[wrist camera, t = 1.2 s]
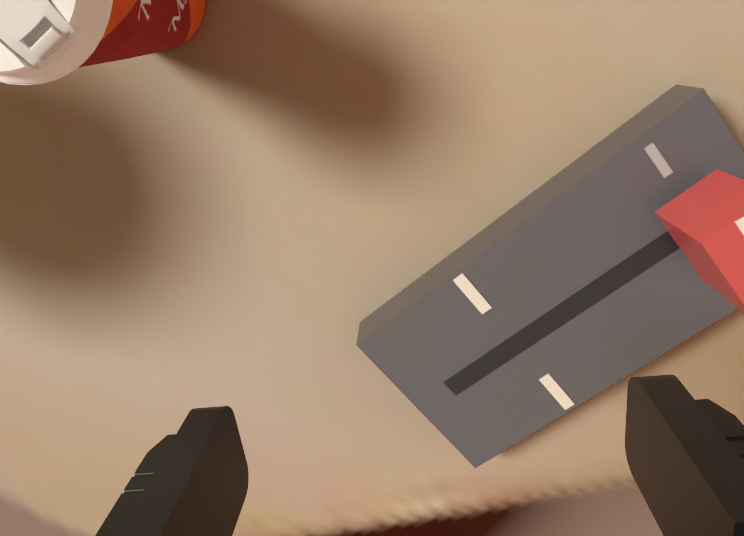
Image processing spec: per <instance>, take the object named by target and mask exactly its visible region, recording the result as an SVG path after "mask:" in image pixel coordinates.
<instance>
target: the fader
mask: <svg viewBox="0 0 744 536" xmlns="http://www.w3.org/2000/svg"><path fill="white" fill-rule="evenodd" d="M654 213H655V214H656V215H657V217H658V218H659V220H660V221H661V222H662V224H663V225H664V227H665V228H666V229H667V231H668V232H669V234H670V235H671V236H672V238H673V239H674V241H675V242H676V244H677V245H678V246H679V248H680V249H681V251H682V252H683V253H684V255H685V256H686V258H687V259H688V260H689V262H690V263H691V265H692V266H693V267H694V269H695V270H696V272H697V273H698V275H699V276H700V277H701V279H702V280H703V281H704V282H705V283H707V284H708V285H709V286H710V287H712V288H713V289H714V290H716V291H717V292H718V293H719V294H721V295H722V296H723V297H724V298H726V299H727V300H728V301H729V302H731V303H732V304H733V305H735V306H736V307H737V308H738V309H740V310H741V311H742V312H743V313H744V180H743V179H740V178H738V177H735V176H733V175H730V174H728V173H725V172H723V171H720V170H718V169H716V170H715V171H713V172H712V173H710V174H709V175H707V176H706V177H704V178H703V179H701V180H700V181H699V182H697V183H696V184H694V185H693V186H691V187H690V188H688V189H687V190H686V191H684V192H683V193H681V194H680V195H678V196H677V197H675V198H674V199H673V200H671V201H670V202H668V203H667V204H665V205H664V206H662V207H661V208H659V209H658V210H657V211H655V212H654Z"/></svg>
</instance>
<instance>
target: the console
mask: <svg viewBox="0 0 744 536" xmlns="http://www.w3.org/2000/svg"><path fill="white" fill-rule="evenodd" d="M716 169H718V170H720V171H723V172H725V173H728V174H730V175H733V176H735V177H738V178H740V179H743V180H744V152H743V150H742V148H741V147H740V145H739V144H738V142H737V141H736V139H735V137H734V136H733V134H732V133H731V131H730V129H729V128H728V126H727V125H726V123H725V122H724V120H723V118H722V117H721V115H720V114H719V112H718V110H717V109H716V107H715V106H714V104H713V103H712V101H711V99H710V98H709V96H708V95H707V93H706V92H705V90H704V89H702V88H696V87H689V86H682V85H675V86H674V87H673V88H671V89H670V90H669V91H667V92H666V93H665V94H663V95H662V96H661V97H659V98H658V99H657V100H655V101H654V102H653V103H651V104H650V105H649V106H647V107H646V108H645V109H643V110H642V111H641V112H639V113H638V114H637V115H635V116H634V117H633V118H631V119H630V120H629V121H627V122H626V123H625V124H623V125H622V126H621V127H619V128H618V129H617V130H615V131H614V132H613V133H611V134H610V135H609V136H607V137H606V138H605V139H603V140H602V141H601V142H599V143H598V144H597V145H595V146H594V147H593V148H591V149H590V150H589V151H587V152H586V153H585V154H583V155H582V156H581V157H579V158H578V159H577V160H575V161H574V162H573V163H571V164H570V165H569V166H567V167H566V168H565V169H563V170H562V171H561V172H559V173H558V174H557V175H555V176H554V177H553V178H551V179H550V180H549V181H547V182H546V183H545V184H543V185H542V186H541V187H539V188H538V189H537V190H535V191H534V192H533V193H532V194H530V195H529V196H528V197H526V198H525V199H524V200H522V201H521V202H520V203H518V204H517V205H516V206H514V207H513V208H512V209H510V210H509V211H508V212H506V213H505V214H504V215H502V216H501V217H500V218H498V219H497V220H496V221H494V222H493V223H492V224H490V225H489V226H488V227H486V228H485V229H484V230H482V231H481V232H480V233H478V234H477V235H476V236H474V237H473V238H472V239H470V240H469V241H468V242H466V243H465V244H464V245H462V246H461V247H460V248H458V249H457V250H456V251H454V252H453V253H452V254H450V255H449V256H448V257H446V258H445V259H444V260H442V261H441V262H440V263H438V264H437V265H436V266H434V267H433V268H432V269H430V270H429V271H428V272H426V273H425V274H424V275H422V276H421V277H420V278H418V279H417V280H416V281H414V282H413V283H412V284H410V285H409V286H408V287H406V288H405V289H404V290H402V291H401V292H400V293H398V294H397V295H396V296H394V297H393V298H392V299H390V300H389V301H388V302H386V303H385V304H384V305H382V306H381V307H380V308H378V309H377V310H376V311H374V312H373V313H372V314H371V315H369V316H368V317H367V318H365V319H364V320H363V321H361V322H360V326H359V332H358V339H357V346H358V347H359V348H360V349H361V350H362V351H363V352H364V353H365V354H366V355H367V356H368V357H369V359H370V360H371V361H372V362H373V363H374V364H375V365H376V366H377V367H378V368H379V369H380V370H381V371H382V372H383V373H384V374H385V375H386V376H387V377H388V378H389V379H390V380H391V381H392V382H393V383H394V384H395V385H396V386H397V387H398V389H399V390H400V391H401V392H402V393H403V394H404V395H405V396H406V397H407V398H408V399H409V400H410V401H411V402H412V403H413V404H414V405H415V406H416V407H417V408H418V409H419V410H420V411H421V412H422V413H423V414H424V415H425V416H426V417H427V419H428V420H429V421H430V422H431V423H432V424H433V425H434V426H435V427H436V428H437V429H438V430H439V431H440V432H441V433H442V434H443V435H444V436H445V437H446V438H447V439H448V440H449V441H450V442H451V443H452V444H453V445H454V446H455V447H456V449H457V450H458V451H459V452H460V453H461V454H462V455H463V456H464V457H465V458H466V459H467V460H468V461H469V462H470V463H471V464H472V465H473V466H474V467H475V468H477V467H478V466H480V465H481V464H483V463H485V462H486V461H488V460H490V459H491V458H493V457H495V456H496V455H498V454H500V453H501V452H503V451H504V450H506V449H508V448H509V447H511V446H513V445H514V444H516V443H518V442H519V441H521V440H523V439H524V438H526V437H528V436H529V435H531V434H532V433H534V432H536V431H537V430H539V429H541V428H542V427H544V426H546V425H547V424H549V423H551V422H552V421H554V420H555V419H557V418H559V417H560V416H562V415H564V414H565V413H567V412H569V411H570V410H572V409H574V408H575V407H577V406H578V405H580V404H582V403H583V402H585V401H587V400H588V399H590V398H592V397H593V396H595V395H597V394H598V393H600V392H602V391H603V390H605V389H606V388H608V387H610V386H611V385H613V384H615V383H616V382H618V381H620V380H621V379H623V378H625V377H626V376H628V375H629V374H631V373H633V372H634V371H636V370H638V369H639V368H641V367H643V366H644V365H646V364H648V363H649V362H651V361H652V360H654V359H656V358H657V357H659V356H661V355H662V354H664V353H666V352H667V351H669V350H671V349H672V348H674V347H676V346H677V345H679V344H680V343H682V342H684V341H685V340H687V339H689V338H690V337H692V336H694V335H695V334H697V333H699V332H700V331H702V330H703V329H705V328H707V327H708V326H710V325H712V324H713V323H715V322H717V321H718V320H720V319H722V318H723V317H725V316H727V315H728V314H730V313H731V312H733V311H735V310H736V309H738V308H737V307H736V306H735V305H733V304H732V303H731V302H729V301H728V300H727V299H726V298H724V297H723V296H722V295H721V294H719V293H718V292H717V291H716V290H714V289H713V288H712V287H710V286H709V285H708V284H707V283H705V282H704V281H703V280H702V279H701V277H700V276H699V275H698V273H697V272H696V270H695V269H694V267H693V266H692V265H691V263H690V262H689V260H688V259H687V258H686V256H685V255H684V253H683V252H682V251H681V249H680V248H679V246H678V245H677V244H676V242H675V241H674V239H673V238H672V236H671V235H670V234H669V232H668V231H667V229H666V228H665V227H664V225H663V224H662V222H661V221H660V220H659V218H658V217H657V215H656V214H655V213H654V212H655V211H657V210H658V209H659V208H661V207H662V206H664V205H665V204H667V203H668V202H670V201H671V200H673V199H674V198H675V197H677V196H678V195H680V194H681V193H683V192H684V191H686V190H687V189H688V188H690V187H691V186H693V185H694V184H696V183H697V182H699V181H700V180H701V179H703V178H704V177H706V176H707V175H709V174H710V173H712V172H713V171H715V170H716Z"/></svg>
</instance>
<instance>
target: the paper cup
mask: <svg viewBox="0 0 744 536" xmlns="http://www.w3.org/2000/svg"><path fill="white" fill-rule="evenodd" d="M205 7H206V0H0V82H3V83H7V84H15V85H34V84H43V83H47V82H50V81H54V80H57V79H59V78H61V77H63V76H65V75H67V74H69V73H71V72H73V71H74V70H75V69H77V68H78V67H83V66H88V65H94V64H99V63H105V62H110V61H116V60H122V59H128V58H132V57H137V56H142V55H147V54H151V53H156V52H161V51H165V50H169V49H172V48H175V47H178V46H180V45H182V44H183V43H185V42H186V41H188V40H189V39H190V38H191V37H192V36H193V35H194V34H195V33H196V31H197V30H198V28H199V27H200V25H201V23H202V20H203V17H204V13H205Z"/></svg>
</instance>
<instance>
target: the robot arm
mask: <svg viewBox="0 0 744 536" xmlns="http://www.w3.org/2000/svg"><path fill="white" fill-rule="evenodd" d="M625 449H626V456H627V461H628V464H629V468H630V471H631V473H632V475H633V477H634V479H635V481H636V483H637V485H638V487H639V489H640V491H641V493H642V495H643V497H644V499H645V501H646V503H647V504H648V506H649V508H650V510H651V512H652V514H653V516H654V518H655V520H656V522H657V524H658V526H659V528H660V530H661V531H662V533H663V535H664V536H744V425H743V424H742V423H741V422H740V421H739V420H738V419H737V417H736V416H735V415H733V414H732V413H730V412H728V411H727V410H725V409H723V408H722V407H720V406H719V405H717V404H715V403H714V402H712V401H710V400H709V399H701V400H694V398H693V397H692V396H691V395H690V393H689V392H688V391H687V390H686V388H685V387H684V386H683V385H682V383H681V382H680V381H679V380H678V378H677V377H676V376H674V375H660V376H646V377H633V378H631V379H630V380H629V383H628V392H627V412H626V432H625ZM247 489H248V466H247V461H246V458H245V454H244V450H243V446H242V442H241V439H240V435H239V431H238V427H237V423H236V420H235V416H234V413H233V411H232V409H231V408H230V407H229V406H223V407H209V408H196V409H192V410H191V411H190V412H189V414H188V415H187V417H186V419H185V421H184V422H183V424H182V426H181V427H180V429H179V431H178V433H177V434H175V435H167V436H166V437H165V438H164V439H163V440H161V441H160V442H159V443H158V444H157V445H156V446H155V447H153V448H152V449H151V450H150V451H149V452H148V453H147V454H146V456H145V457H144V459H143V460H142V462H141V464H140V465H139V467H138V468H137V470H136V472H135V477H132V478H131V480H130V481H129V483H128V484H127V486H126V488H125V489H124V490H125V492H124V494H121V496H120V497H119V499H118V500H117V502H116V504H115V505H114V507H113V508H112V510H111V511H110V513H109V515H108V516H107V518H106V519H105V521H104V523H103V524H102V526H101V527H100V529H99V531H98V532H97V534H96V535H95V536H232V534H233V532H234V529H235V526H236V523H237V520H238V517H239V514H240V512H241V509H242V506H243V503H244V500H245V497H246V494H247Z"/></svg>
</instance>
